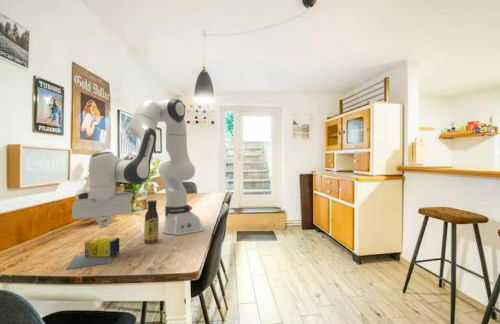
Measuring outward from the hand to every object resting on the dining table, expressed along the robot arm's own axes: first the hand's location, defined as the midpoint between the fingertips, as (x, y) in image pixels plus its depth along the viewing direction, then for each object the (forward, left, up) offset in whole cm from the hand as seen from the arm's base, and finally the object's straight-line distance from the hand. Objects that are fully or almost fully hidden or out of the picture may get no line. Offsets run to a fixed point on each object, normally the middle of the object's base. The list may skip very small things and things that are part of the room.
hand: (104, 227), depth 95 cm
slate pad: (+4, 0, -13) cm, 13 cm away
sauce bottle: (-18, -14, -13) cm, 26 cm away
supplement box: (-4, -2, -9) cm, 10 cm away
